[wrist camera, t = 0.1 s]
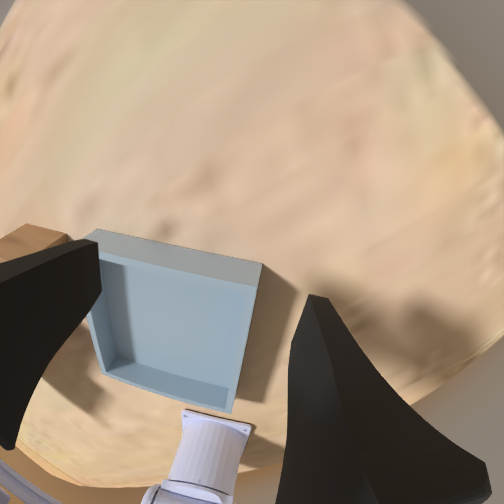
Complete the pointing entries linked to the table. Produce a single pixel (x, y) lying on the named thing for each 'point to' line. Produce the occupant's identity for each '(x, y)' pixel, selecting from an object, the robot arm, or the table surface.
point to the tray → (172, 318)
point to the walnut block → (29, 241)
